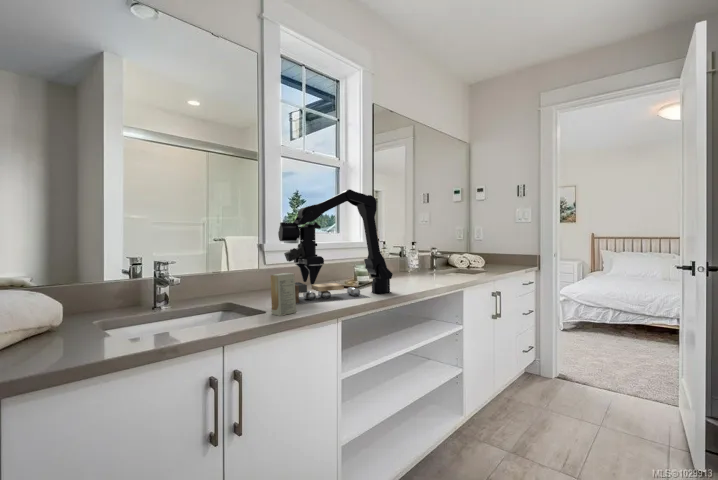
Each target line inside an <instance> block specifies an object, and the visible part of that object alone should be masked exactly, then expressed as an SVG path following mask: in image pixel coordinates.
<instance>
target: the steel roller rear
mask: <svg viewBox="0 0 718 480" xmlns="http://www.w3.org/2000/svg"><path fill="white" fill-rule="evenodd" d="M346 293H348V294H349V295H353V296H356V297H357V296H359V295H360V294H361V290H360V289H359V288H356V287H354V286H349V287H347V290H346Z"/></svg>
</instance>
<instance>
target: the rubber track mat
mask: <svg viewBox="0 0 718 480" xmlns="http://www.w3.org/2000/svg"><path fill="white" fill-rule="evenodd" d="M368 298H369V299H370V298H371V299H372V297H371V296H368V295H365V294H361V293H360V295H359V296H357V297H356V296H353V295H349V294H348V293H347V292H342V293H332V294H331V297H330V298H329V299H324V298H322V297H320V296H319V295H316V298H315V299H314V300H312V301H311V300H309V299H306V298H305V297H304V296H299V303H296V306H297V305H304V304H305V305H307V304H315V303H318V304H319V303H325V302H326V303H328V302H329V303H330V302H339V301H348V300H360V299H361V300H362V299H368Z"/></svg>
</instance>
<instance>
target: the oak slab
mask: <svg viewBox="0 0 718 480" xmlns="http://www.w3.org/2000/svg"><path fill="white" fill-rule="evenodd" d="M311 290H314V291H315V292H318V291H329V292H331V291H339V290H345V285H344V284H341V283H335V282H332V283H320V284H319V283H318V284H315V283H314V284H311Z"/></svg>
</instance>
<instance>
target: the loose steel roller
mask: <svg viewBox="0 0 718 480" xmlns="http://www.w3.org/2000/svg"><path fill="white" fill-rule="evenodd" d="M302 294H303V296H302V297H305V298H306V299H309V300H311V301H312V300H314V299H315V298H316V293H315V292H313V291H311V290H308V289H307V292H304V293H302Z"/></svg>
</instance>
